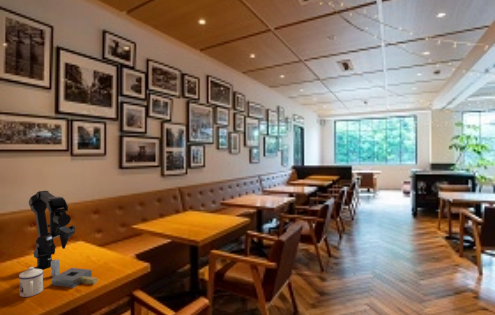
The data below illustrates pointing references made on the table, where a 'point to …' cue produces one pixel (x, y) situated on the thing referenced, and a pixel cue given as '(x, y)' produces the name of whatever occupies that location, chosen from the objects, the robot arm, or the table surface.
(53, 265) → the wedge pin
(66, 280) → the grey slotted block
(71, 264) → the table surface
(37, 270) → the teacup with lid
